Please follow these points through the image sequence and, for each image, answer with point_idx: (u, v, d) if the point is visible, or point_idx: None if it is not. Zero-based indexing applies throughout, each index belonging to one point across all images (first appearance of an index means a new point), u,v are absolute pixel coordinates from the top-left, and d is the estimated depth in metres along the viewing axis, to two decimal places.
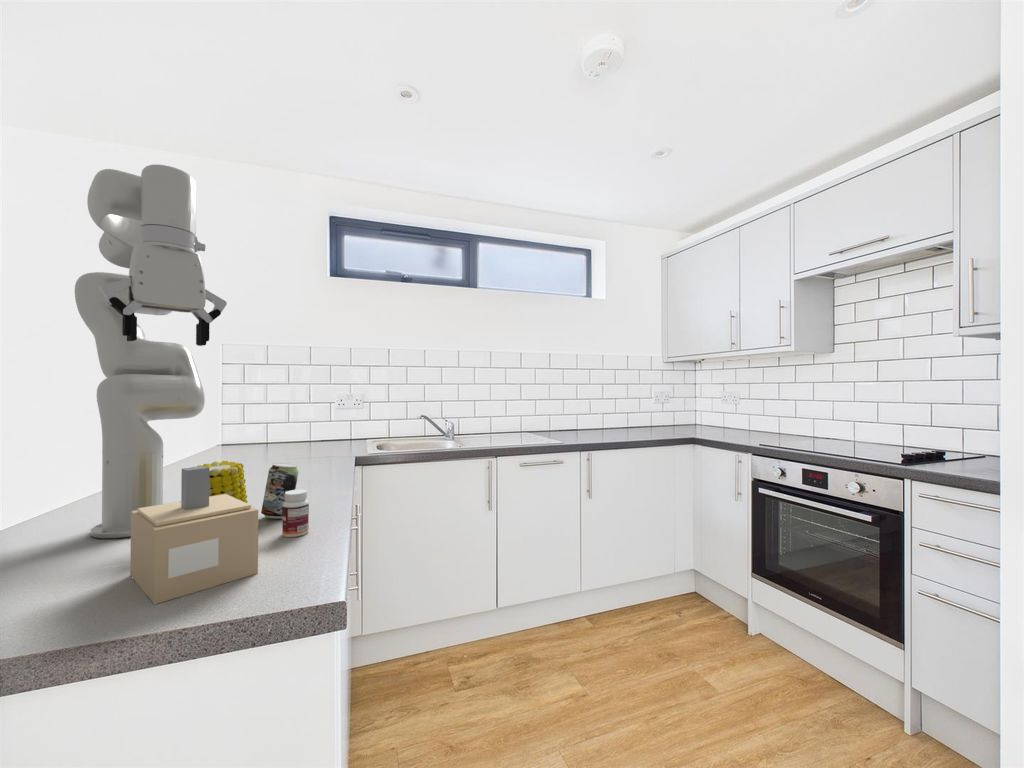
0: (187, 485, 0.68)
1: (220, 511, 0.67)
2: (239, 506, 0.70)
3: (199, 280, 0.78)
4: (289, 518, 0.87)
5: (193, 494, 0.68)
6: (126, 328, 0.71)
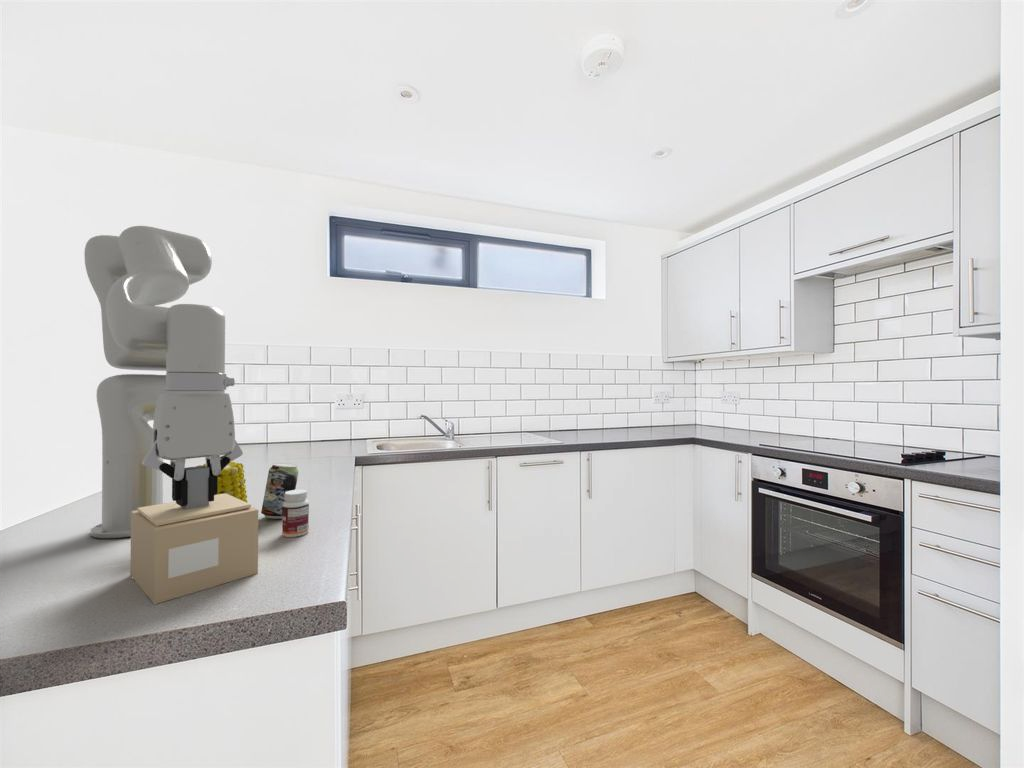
0: None
1: (220, 511, 0.67)
2: (239, 505, 0.70)
3: (228, 422, 0.71)
4: (289, 518, 0.87)
5: (193, 494, 0.68)
6: (177, 494, 0.67)
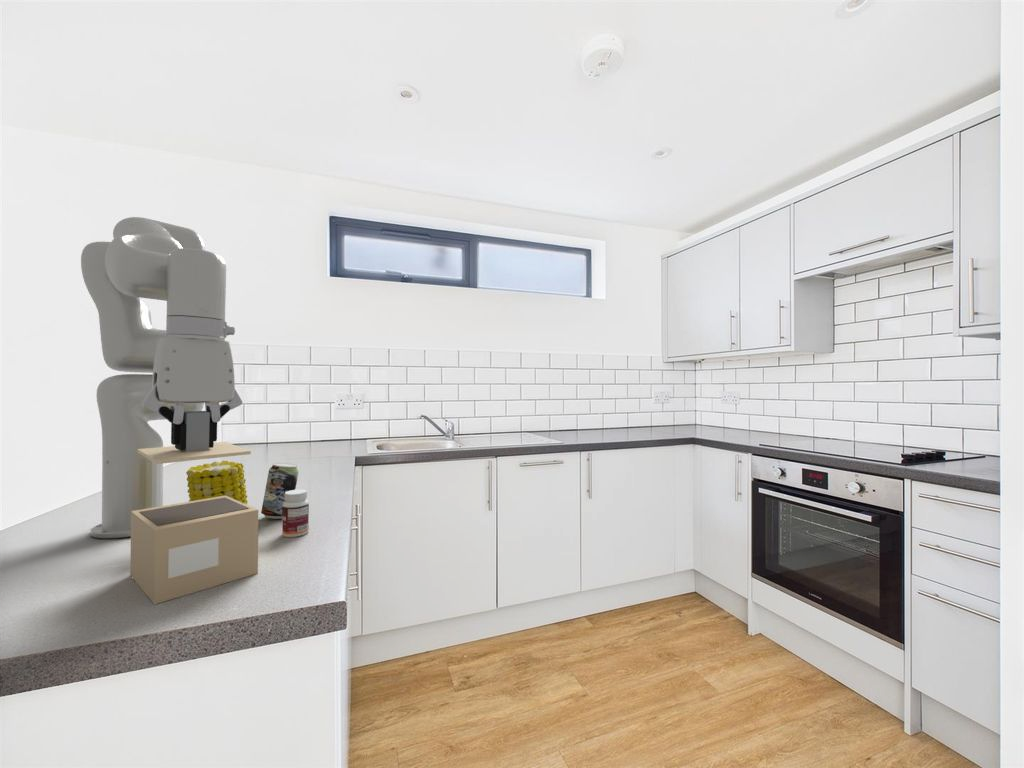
0: (187, 427, 0.68)
1: (220, 454, 0.68)
2: (239, 451, 0.70)
3: (228, 369, 0.71)
4: (290, 518, 0.87)
5: (193, 437, 0.68)
6: (176, 438, 0.67)
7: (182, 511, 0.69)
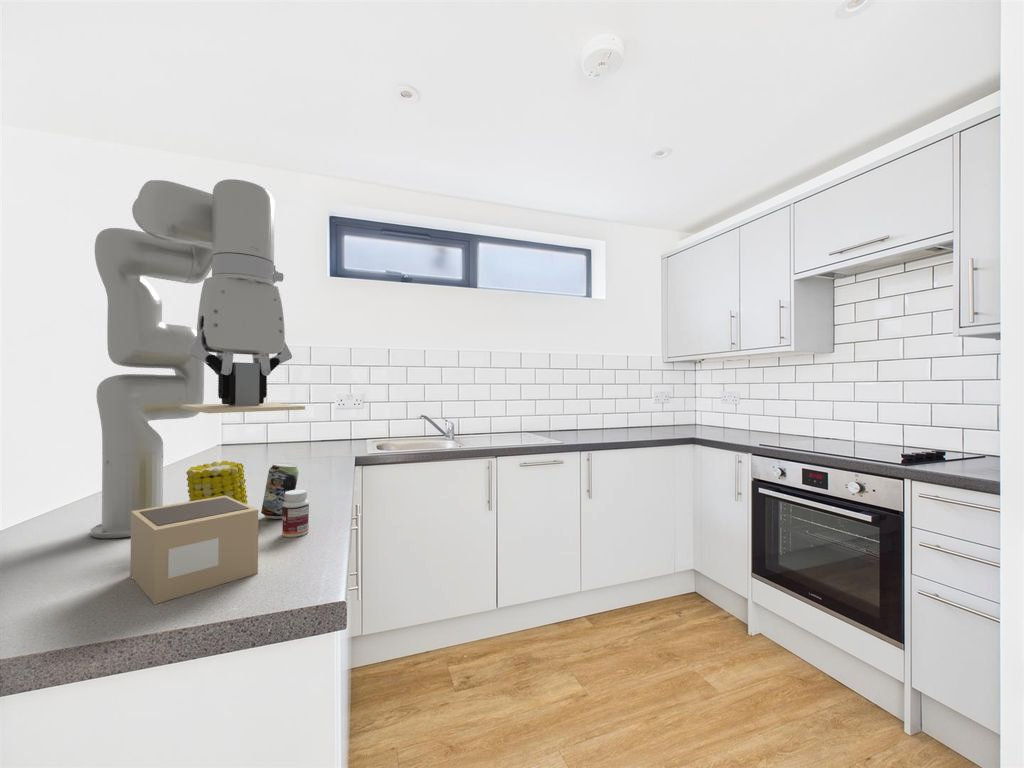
0: (236, 378, 0.61)
1: (273, 408, 0.61)
2: (292, 406, 0.63)
3: (278, 317, 0.65)
4: (289, 518, 0.87)
5: (243, 390, 0.61)
6: (224, 390, 0.60)
7: (182, 511, 0.69)
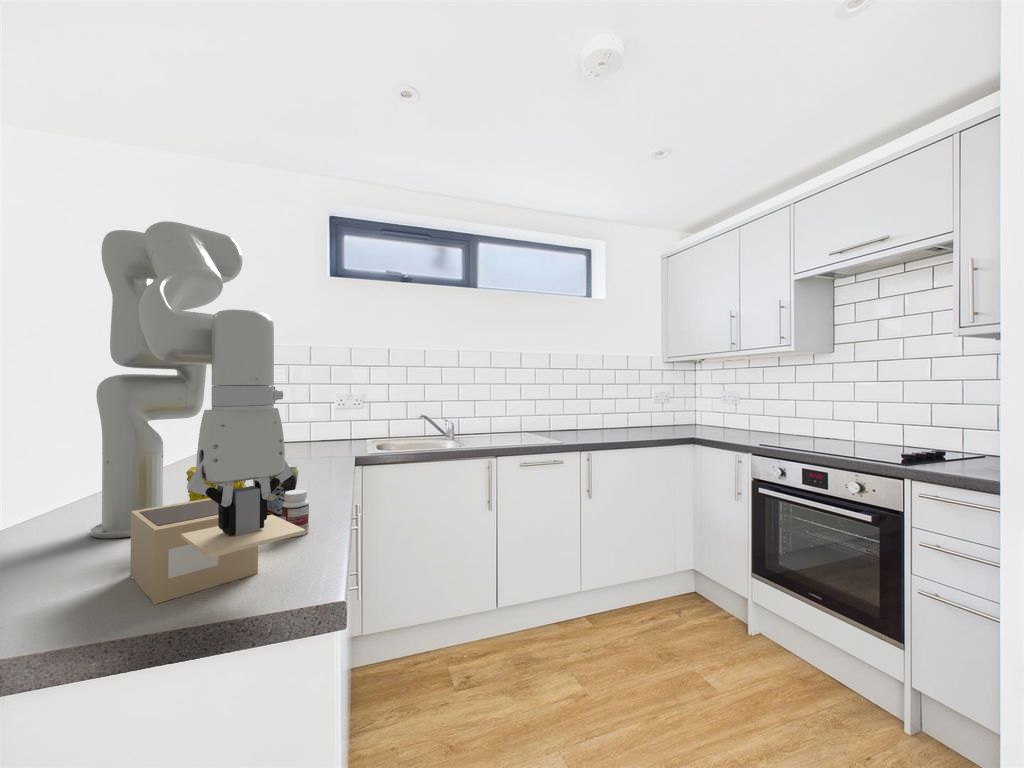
0: (237, 509, 0.60)
1: (274, 538, 0.60)
2: (293, 531, 0.63)
3: (278, 439, 0.64)
4: (289, 518, 0.87)
5: (243, 518, 0.61)
6: (224, 521, 0.60)
7: (182, 511, 0.69)
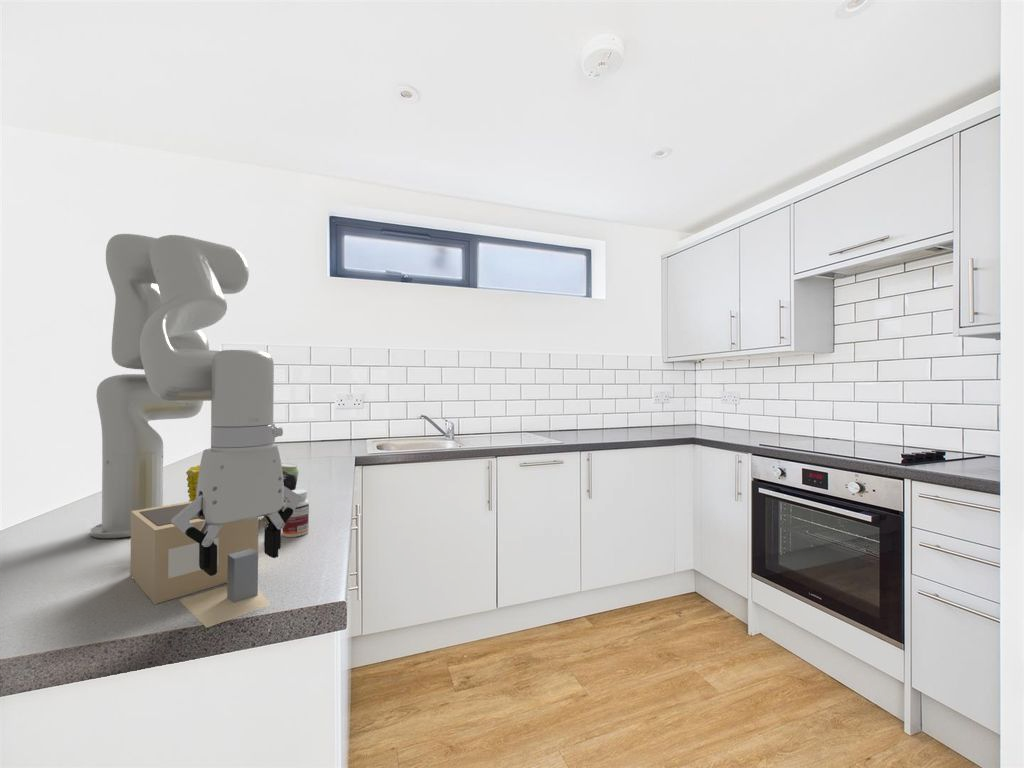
0: (235, 575, 0.61)
1: None
2: None
3: (278, 477, 0.64)
4: (289, 518, 0.87)
5: (241, 584, 0.61)
6: (205, 562, 0.59)
7: None
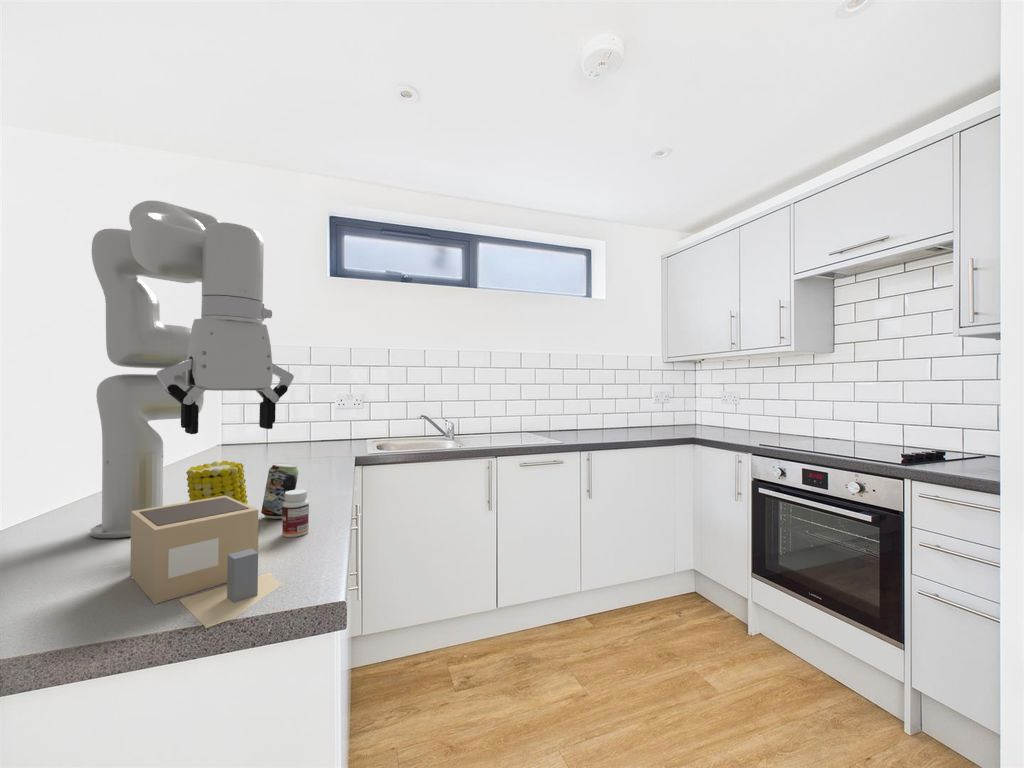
0: (235, 575, 0.61)
1: None
2: None
3: (266, 355, 0.66)
4: (290, 518, 0.87)
5: (241, 584, 0.61)
6: (186, 420, 0.60)
7: (182, 511, 0.69)
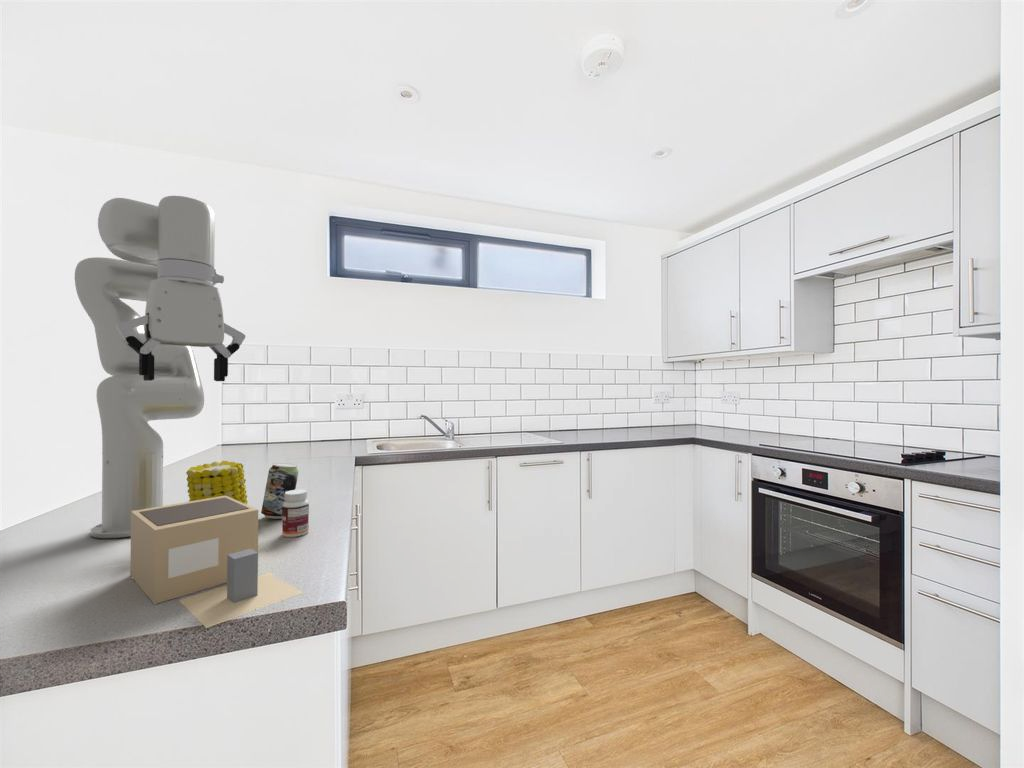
0: (235, 575, 0.61)
1: None
2: (291, 595, 0.63)
3: (218, 314, 0.75)
4: (289, 518, 0.87)
5: (241, 584, 0.61)
6: (143, 368, 0.68)
7: (182, 511, 0.69)
